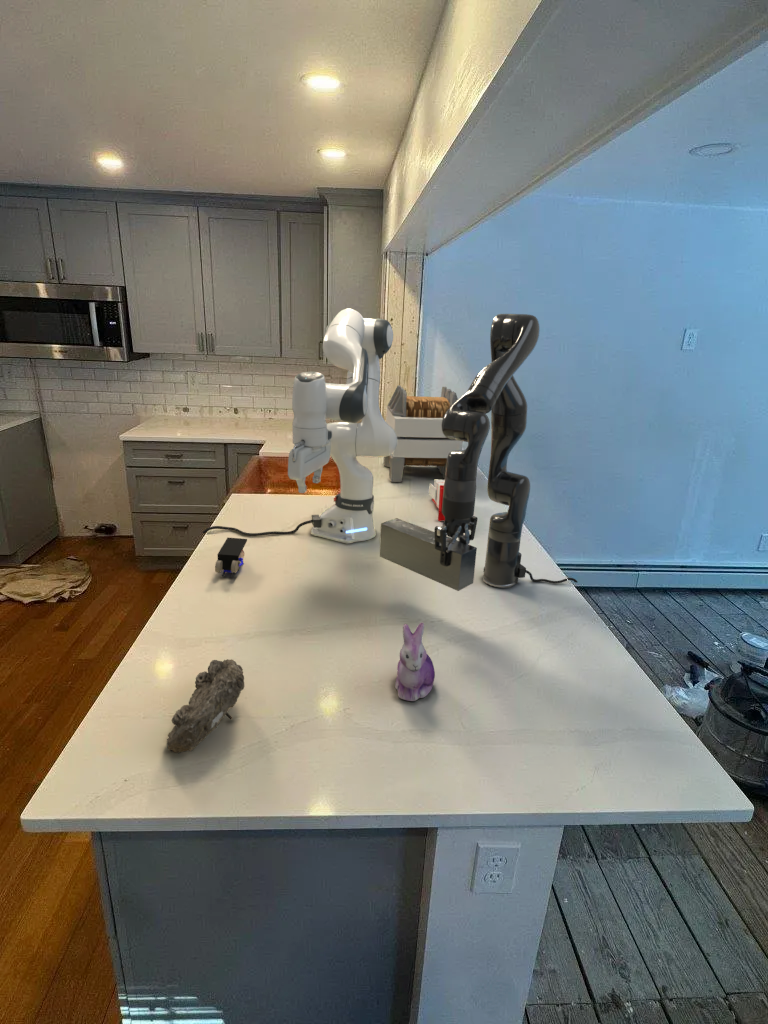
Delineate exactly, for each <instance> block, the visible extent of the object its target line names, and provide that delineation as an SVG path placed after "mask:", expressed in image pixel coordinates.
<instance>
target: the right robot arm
mask: <svg viewBox="0 0 768 1024" xmlns="http://www.w3.org/2000/svg"><path fill="white" fill-rule="evenodd" d="M540 331H541V330H540V322H539V319H538V318H537V317H536V316H535V315H533V314H528V313H527V314H526V313H499V314H497V315H495V316H494V317H493V319H492V322H491V325H490V334H489V343H490V358H491V359H490V361H491V362H490V363H489V364H487V365H486V366H485V367H483V368H482V369H481V370H480V371H479V372H478V373H477V374H476V376H475V377H474V378H473V381H472V382H471V383H470V385H469V387H468V389H467V391H466V392H465V393H464V394H463V395H462V396H460V397H459V398H458V400H457V401H456V402H455V403H454V404H453V405H452V406H451V407H450V408H449V409H448V410H447V412H446V413H445V415H444V417H443V419H442V424H441V427H442V432H443V434H444V435H445V436H446V437H447V438H449V439H453V440H458V441H463V442H464V443H467V446H466V448H465V449H462V450H455V451H451V452H450V453H449V454H448V457H447V466H446V477H445V478H444V480H445V482H444V489H443V501H442V514H443V515H444V517H445V521H443V524H442V525H441V526H438V525H436V526H435V527H434V528H433V529H434V532H435V549H436V550H439V551H441V554H440V564H441V565H443V566H445V567H447V566H449V561H450V550H451V547H452V545H453V544H455V542H456V540H457V539H458V541H460V542H463V543H465V544H468V545H470V542H471V541H474V539H475V535H476V529H477V524H478V518H479V517H478V516H475V507H476V506H475V505H476V496H477V477H478V476H477V475H478V465H479V460H480V457H481V453H482V450H483V447H484V446H485V443H486V440H487V438H488V436H489V432H490V431H491V433H490V434H491V435H490V436H491V437H490V455H489V456H490V458H489V467H488V475H487V486H486V487H487V488H486V489H487V491H486V492H487V496H488V498H489V500H491V501H492V502H494V503H498V504H501V505H504V506H508V509H507V511H503V512H497V513H494V514H492V515H491V516H490V517H489V526H488V535H487V543H486V551H485V561H484V567H483V571H482V573H483V575H482V579H483V580H482V581H483V582H484V583H485V584H487V585H488V586H490V587H493V588H498V589H508V588H511V587H514V586H515V585H516V584H519V579H521V578H526V574H528V575H529V578H530V581H532V582H534V583H540V582H543V583H544V582H545V583H548V584H561V583H565V582H568V581H572V582H574V583H578V580H577V579H575V578H574V577H566V578H567V579H568V581H567V579H566V578H562V579H560V580H550V579H546V578H538V579H535V578H534V577H533V574H532V572H531V571H530V570H527V567H525V566H524V565H523V564H521V562H522V561H521V560H522V553H521V552H520V547H521V541H522V532H523V525H524V522H525V519H526V514H527V509H528V502H529V499H530V493H531V481H530V478H529V477H528V476H527V475H524V474H520V473H516V472H513V471H508V458H509V456H510V453H511V452H512V450H513V449H514V447H515V446H516V445H517V444H518V442H519V441H520V440H521V438H522V437H523V435H524V434H525V432H526V429H527V423H528V422H527V421H528V401H527V399H526V396H525V393H524V392H523V391H522V388H521V387H520V385H519V383H518V382H517V380H516V378H515V376H514V374H515V373H516V372H517V371H518V370H519V369H520V368H521V366H522V365H523V364H524V363H525V362H526V360H527V359H528V358H529V356H531V354H532V353H533V351H534V350H535V348H536V346H537V344H538V342H539V339H540ZM488 413H491V414H490V419H489V417H488V415H487V414H488ZM446 536H447V537H449V538H452V539H448V538H447V537H446ZM439 542H440V543H441V544H440V545H439ZM446 542H448V546H447V547H446Z"/></svg>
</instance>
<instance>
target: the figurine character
mask: <svg viewBox="0 0 768 1024" xmlns="http://www.w3.org/2000/svg"><path fill="white" fill-rule="evenodd" d="M247 542H248V538H240V537H226V539H225V541H224V543H223V544H222V546H221V547H220V549H219V551H218V552H217V560H216V562H215V564H214V572H215V573H221V577H222V578H224V577H225V576H226V574H227V573H230V574H231V573H232V574H231V578H234V577H235V575H236V573H237V572H239V571H240V567H242V566H243V565H244V564H245V562H244V558H245V551H244V547H245V546H246V544H247Z"/></svg>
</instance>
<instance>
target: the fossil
mask: <svg viewBox="0 0 768 1024" xmlns="http://www.w3.org/2000/svg"><path fill="white" fill-rule="evenodd" d="M243 670H244V669H243V667H242V665H240V664H237V662H236V661H235V660H234V659H232V658H231V659H227V658H226V659H224V660H223V661H222V660H217V659H212V660H211V661H210V663H209V665H208V666H207V671H201V672H199V673H198V674H197V675H196V676H195V680H194V684H195V685H194V687H195V689H194V690H193V693H192V694H191V697H190V698H189V700H188V704H184V705H182V706H181V707H180V709H177V710H176V711H175V713H174V715H173V716H172V718H171V723H172V724H173V727H172V730H171V731H170V732H168V734H167V738H166V741H167V742H166V745H167V749H168V750H169V751H173V752H174V753H176V754H178V753H182V752H188V751H189V752H192V751H193V750H195V748H196V747H197V746H199V744H200V743H201V742H203V741H204V740H205V739H206V738H207V737H208V736H209V735H210V734H211V733H212V732H214V730H215V729H217V727H218V726H219V724H220V722H221V721H222V720H223V719H224V718H225V716H226V717H227V719H229V720H233V717H232V715H230V714H229V710H230V709H231V708H234V706H235V704H236V703H237V702H238V699H239V697H240V695H241V693H242V691H243V690H245V689H244V688H245V675H244V671H243Z"/></svg>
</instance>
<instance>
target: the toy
mask: <svg viewBox="0 0 768 1024" xmlns="http://www.w3.org/2000/svg"><path fill="white" fill-rule="evenodd" d="M433 481H434V482H433V483H431V482H430V483H429V485H428V486H429V487H428V494H429V496H430V497H431V501H432V502H433V504H434V505H435V506H436V507H437V508H438V514H437V515H438V517H437V521H439V522H442V521H443V522H444V521H445V517H444V515H443V514H442V501H443V489H444V482H445V479H434V480H433Z"/></svg>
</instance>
